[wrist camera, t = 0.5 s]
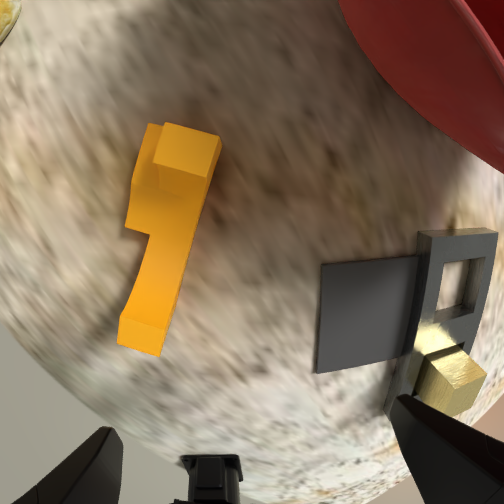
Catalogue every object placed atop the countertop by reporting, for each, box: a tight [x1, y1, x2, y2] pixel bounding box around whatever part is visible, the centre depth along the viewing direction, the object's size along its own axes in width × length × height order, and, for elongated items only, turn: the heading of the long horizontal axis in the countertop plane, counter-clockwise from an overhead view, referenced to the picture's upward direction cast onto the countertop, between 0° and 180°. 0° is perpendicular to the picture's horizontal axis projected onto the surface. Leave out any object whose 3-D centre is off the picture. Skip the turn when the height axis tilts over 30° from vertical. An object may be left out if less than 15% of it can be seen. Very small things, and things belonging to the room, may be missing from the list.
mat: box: [316, 255, 419, 374], centre depth 23 cm, size 10×10×1 cm
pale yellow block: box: [413, 344, 487, 417], centre depth 22 cm, size 4×4×7 cm
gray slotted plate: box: [383, 228, 498, 421], centre depth 23 cm, size 20×9×2 cm, turn 3°
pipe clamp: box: [117, 122, 222, 357], centre depth 17 cm, size 12×4×6 cm, turn 162°
